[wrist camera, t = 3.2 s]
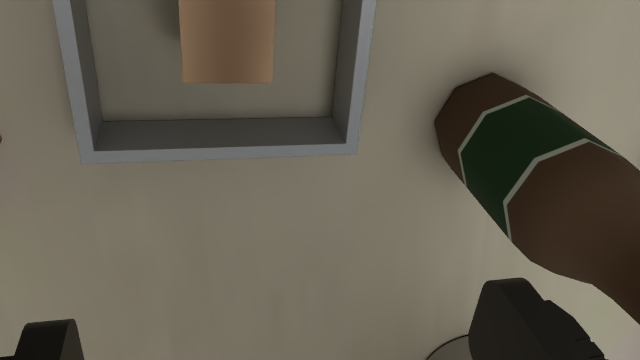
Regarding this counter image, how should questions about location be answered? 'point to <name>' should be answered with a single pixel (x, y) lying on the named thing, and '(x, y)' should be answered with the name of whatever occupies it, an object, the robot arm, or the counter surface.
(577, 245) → the beer bottle
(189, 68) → the walnut block
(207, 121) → the grey bin
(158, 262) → the counter surface
